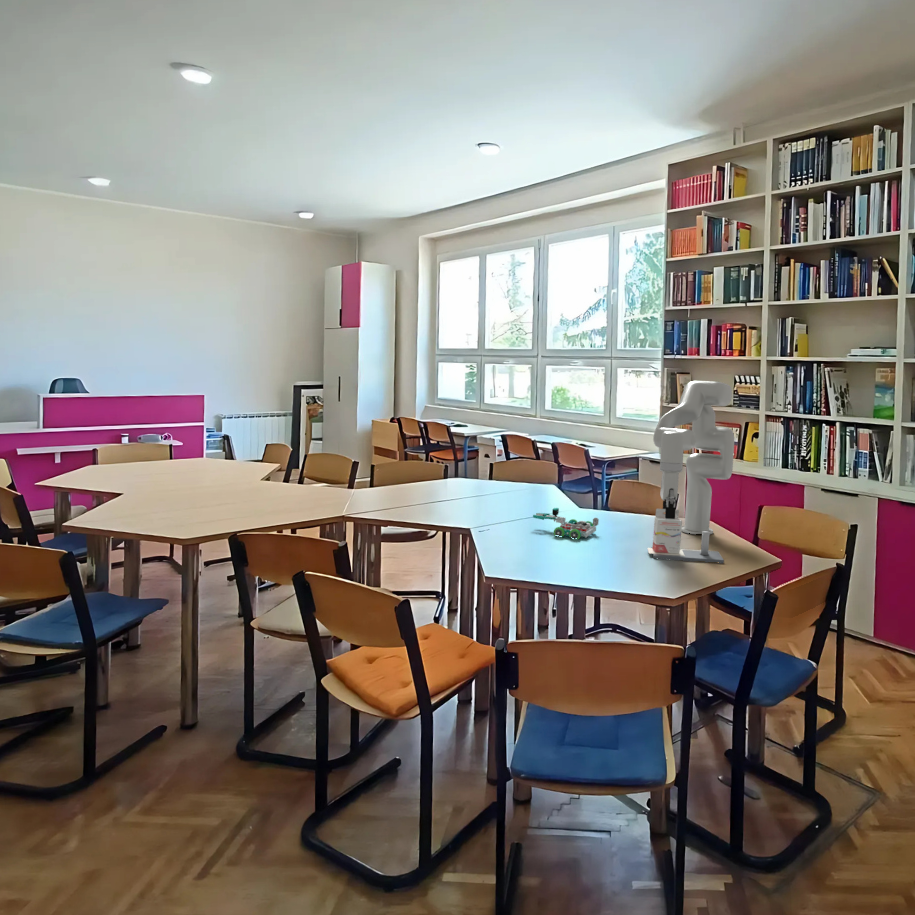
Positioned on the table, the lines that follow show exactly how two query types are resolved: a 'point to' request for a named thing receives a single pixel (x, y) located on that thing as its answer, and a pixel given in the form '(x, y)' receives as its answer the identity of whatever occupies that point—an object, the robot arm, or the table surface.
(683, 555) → the plate
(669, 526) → the ink cartridge box
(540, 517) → the robot kit
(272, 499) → the table surface
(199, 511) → the table surface
